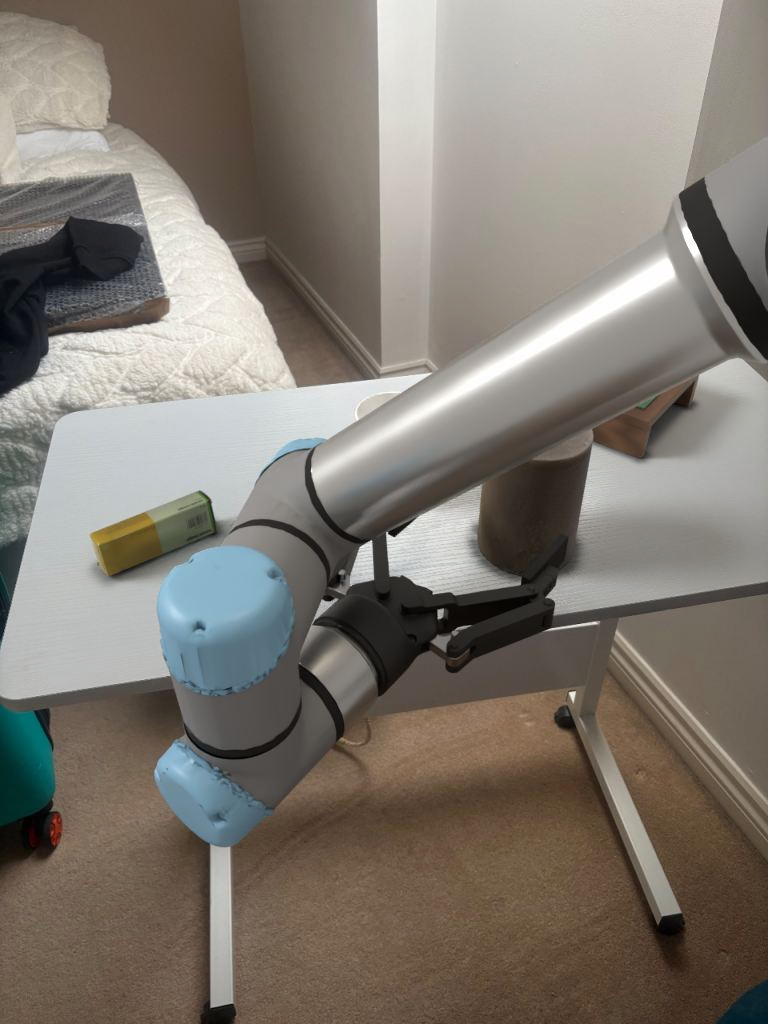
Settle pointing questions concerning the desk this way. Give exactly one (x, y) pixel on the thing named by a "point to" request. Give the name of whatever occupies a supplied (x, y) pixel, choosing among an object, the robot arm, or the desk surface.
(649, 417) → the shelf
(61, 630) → the desk surface
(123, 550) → the medication box
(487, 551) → the pillar candle
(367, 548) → the desk surface
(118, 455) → the desk surface
